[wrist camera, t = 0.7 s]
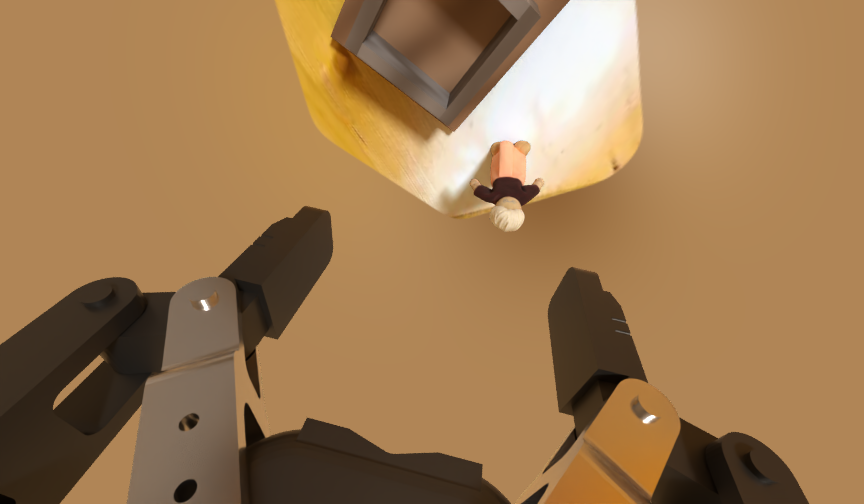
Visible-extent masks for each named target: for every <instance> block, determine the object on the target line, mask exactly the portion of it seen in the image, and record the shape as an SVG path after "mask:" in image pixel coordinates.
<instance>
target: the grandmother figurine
mask: <svg viewBox="0 0 864 504" xmlns="http://www.w3.org/2000/svg"><path fill="white" fill-rule="evenodd" d="M529 151H530V144H529V143H528V142H526V141H518V142H516V143H515V144H514V145H513V143H512V142H509V141H502V142H496V143H494V144H493V145H492V147H491V153H492V163H491V184H492V187H493V188H492V190H491V189H489V188H487V187H485V186H483V185H481V184H480V183H479V181H478V180H477V179H472V180H471V181H470V186H471V187H472V188H473V190H474V195H475V196H476V197H478V198H480V199H482V200H484V201H486V202H489V203H493V204H495V207H493V208H492V209H491V212H490V220H491V221H492V223H493V224H494V225H495V226H496V227H497V228H499V229H502V230H503V231H505V232H506V231H515V230H517V229H519V228H520V226H521V225H522V223H523V221H524V213H523V211H522V210H521V206H522V205H524V204H526V203H527V202H529V201H530V200H531V199H532V198H534V197H535V196H536V195H537V194H538V193H539V192H540V189H541V187H542V186H543V185H544V181H543V179H541V178H538V179H536V180H535V181H534V183H533V184H532V185H524V183H525V177H526V155H527V154H528V152H529ZM523 185H524V186H523Z"/></svg>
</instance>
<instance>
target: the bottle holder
mask: <svg viewBox="0 0 864 504" xmlns="http://www.w3.org/2000/svg"><path fill="white" fill-rule="evenodd" d="M569 1H570V0H345V2H344V4H343V7H342V9H341V12H340V14H339V17H338V19H337V22H336V24H335V27H334V29H333V32H332V34H331V37H332V38H333V39H334V40H336V41H337V42H338V43H340V44H341V45H342V46H343V47H345V48H346V49H347V50H349V51H350V52H351V53H353V54H354V55H355V56H356V57H358V58H359V59H360V60H362V61H363V62H364V63H365V64H367V65H368V66H369V67H371V68H372V69H373V70H375V71H376V72H377V73H378V74H380V75H381V76H382V77H384V78H385V79H386V80H387V81H389V82H390V83H391V84H393V85H394V86H395V87H397V88H398V89H399V90H400V91H402V92H403V93H404V94H406V95H407V96H408V97H410V98H411V99H412V100H413V101H415V102H416V103H417V104H419V105H420V106H421V107H422V108H424V109H425V110H426V111H428V112H429V113H430V114H432V115H433V116H434V117H435V118H437V119H438V120H439V121H441V122H442V123H443V124H444V125H446V126H447V127H448V128H450V129H451V130H452V131H455V130H456V129H457V128H458V127H459V126H460V125H461V124H462V122H463V121H464V120H465V119H466V118H467V117H468V116H469V114H470V113H471V112H472V111H473V110H474V109H475V108H476V106H477V105H478V104H479V103H480V102H481V101H482V100H483V98H484V97H485V96H486V95H487V94H488V93H489V92H490V91H491V89H492V88H493V87H494V86H495V85H496V84H497V83H498V81H499V80H500V79H501V78H502V77H503V76H504V75H505V73H506V72H507V71H508V70H509V69H510V68H511V67H512V65H513V64H514V63H515V62H516V61H517V60H518V59H519V58H520V56H521V55H522V54H523V53H524V52H525V51H526V50H527V48H528V47H529V46H530V45H531V44H532V43H533V42H534V40H535V39H536V38H537V37H538V36H539V35H540V34H541V33H542V31H543V30H544V29H545V28H546V27H547V26H548V25H549V23H550V22H551V21H552V20H553V19H554V18H555V17H556V15H557V14H558V13H559V12H560V11H561V10H562V9H563V7H564V6H565V5H566V4H567V3H568V2H569Z"/></svg>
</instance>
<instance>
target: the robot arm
mask: <svg viewBox="0 0 864 504" xmlns="http://www.w3.org/2000/svg"><path fill="white" fill-rule="evenodd" d="M332 252H333V240H332V228H331V216H330V213H329V212H328V211H326V210H321V209H317V208H313V207H308V206H304V207H303V208H302V209H301V210H300V211H299V212H298V213H297V214H296V215H295V216H294V217H293V218H288V217H286V218H284V219H282V220H280V221H278V222H276V223H274V224H272V225H271V226H270V227H269V228H268V229H267V230H266V231H265V232H264V233H263V234H262V236H261V237H259V238H258V239H257V240H255V242H254V243H253V245H250V247H248V248H247V249H246V250H245V251H244V252H243V253H242V254H241V255H240V256H239V257H238V258H237V259H236V260H235V261H234V262H233V263H232V264H231V265H230V266H229V267H228V268H227V269H226V270H225V271H224V272H223V273H221V274H220V275H219V276H218V277H207V278H202V279H198V280H195V281H192V282H190V283H188V284H186V285H185V286H183V287H182V288H180V289H179V290H178V291H177V292H160V293H158V292H157V293H142V292H141V291H140V289H139V288H138V286H137V285H136V283H135V282H134V281H132V280H130V279H127V278H121V277H116V278H115V277H113V278H106V279H101V280H97V281H94V282H91V283H88V284H86V285H84V286H82V287H80V288H78V289H76V290H75V291H73V292H72V293H70V294H69V295H68V296H66V297H65V298H64V299H62V300H61V301H59V302H58V303H57V304H55V305H54V306H53V307H51V308H50V309H49V310H48V311H46V312H44V313H43V314H42V315H40V316H39V317H38V318H36V319H35V320H34V321H32V322H31V323H30V324H28V325H27V326H25V327H24V328H23V329H21V330H20V331H19V332H17V333H16V334H14V335H13V336H12V337H11V338H9V339H8V340H6V341H5V342H4V343H2V344H1V345H0V504H60V502H61V501H62V500H63V499H64V498H65V496H66V495H67V494H68V493H69V492H70V490H71V489H72V488H73V487H74V485H75V484H76V483H77V482H78V481H79V479H80V478H81V477H82V476H83V475H84V473H85V472H86V471H87V470H88V469H89V467H90V466H91V465H92V463H94V461H95V460H96V459H97V458H98V457H99V455H100V454H101V453H102V451H103V450H104V449H105V448H106V447H107V446H108V444H109V443H110V442H111V441H112V439H113V438H114V437H115V436H116V435H117V434H118V432H119V431H120V430H121V429H122V427H123V426H124V425H125V424H126V423H127V421H128V420H129V419H130V418H131V417H132V415H133V414H134V413H135V412H136V411H137V409H138V408H139V407H140V406H141V404H142V407H141V414H140V420H139V427H138V433H137V440H136V446H135V454H134V460H133V466H132V473H131V479H130V486H129V492H128V500H127V504H511V503H510V502H509V501H508V500H507V498H506V497H505V496H504V495H503V494H502V493H501V492H500V491H499V490H498V489H497V488H495V487H494V486H493V485H492V484H490V483H489V482H488V481H486V480H485V479H483V478H482V464H479V463H475V462H472V461H468V460H464V459H460V458H456V457H453V456H449V455H445V454H442V453H413V454H390V453H387V452H385V451H384V450H382V449H380V448H379V447H377V446H376V445H374V444H373V443H371V442H369V441H368V440H366V439H365V438H363V437H361V436H360V435H358V434H357V433H355V432H353V431H352V430H350V429H348V428H344V427H340V426H337V425H333V424H329V423H325V422H322V421H318V420H314V419H310V418H307V419H306V421H305V423H304V425H303V428H302V429H301V430H292V431H286V432H282V433H278V434H275V435H272V436H271V431H270V426H269V421H268V417H267V413H266V409H265V403H264V396H263V386H262V377H261V368H260V359H259V350H258V346H257V345H258V344H259V342H260V341H261V339H262V338H263V337H264V336H266V337H270V338H274V339H278V338H279V337H280V335H281V334H282V332H283V331H284V329H285V328H286V326H287V325H288V323H289V322H290V320H291V319H292V317H293V316H294V314H295V313H296V311H297V310H298V308H299V307H300V305H301V304H302V302H303V301H304V300H305V298H306V297H307V295H308V294H309V292H310V291H311V289H312V288H313V286H314V284H315V283H316V282H317V280H318V279H319V277H320V276H321V274H322V273H323V271H324V270H325V268H326V267H327V265H328V264H329V262H330V259H331V257H332ZM548 321H549V330H550V339H551V347H552V356H553V364H554V373H555V382H556V390H557V399H558V407H559V412H561V413H565V414H569V415H573V416H574V422H575V426H574V427H573V428H572V429H571V430H570V432H569V433H568V434H567V436H566V437H565V439H564V440H563V441H562V443H561V444H560V445H559V447H558V448H557V450H556V451H555V452H554V454H553V455H552V457H551V458H550V459H549V461H548V462H547V463H546V465H545V466H544V468H543V469H542V470H541V472H540V473H539V475H538V476H537V477H536V478H535V480H534V481H533V482H532V483H531V485H530V486H529V487H528V488H527V489H526V490H525V491H524V492H523V494H522V495H521V496H520V497H519V499H518V500H517V501H516V502H515V504H809V503H808V501H807V499H806V497H805V495H804V493H803V492H802V490H801V488H800V486H799V484H798V482H797V480H796V479H795V477H794V476H793V474H792V472H791V471H790V469H789V468H788V467H787V465H786V464H785V463H784V462H783V461H782V460H781V459H780V458H779V457H778V456H777V455H776V454H775V453H774V452H773V451H772V450H771V449H770V448H768V447H767V446H766V445H764V444H763V443H762V442H760V441H758V440H757V439H755V438H753V437H751V436H749V435H746V434H743V433H739V432H731V433H728V434H726V435H724V436H722V437H721V438H719V439H718V438H716V437H714V436H712V435H710V434H709V433H707V432H705V431H703V430H701V429H699V428H698V427H696V426H694V425H692V424H690V423H688V422H686V421H685V420H683V419H681V418H679V416H678V413H677V411H676V410H675V408H674V406H673V405H672V403H671V402H670V401H669V399H668V398H667V397H666V396H665V395H664V394H663V393H662V392H661V391H659V390H658V389H657V388H655V387H654V386H652V385H651V384H649V383H648V381H647V379H646V376H645V373H644V370H643V367H642V364H641V361H640V359H639V356H638V353H637V350H636V347H635V345H634V342H633V339H632V336H630V330H629V327H628V325H627V324H626V319H625V316H624V313H623V311H622V308H621V306H620V305H619V303H618V302H617V301H616V299H615V298H614V297H613V296H612V294H611V293H610V292H607V291H603V289H602V286H601V283H600V280H599V276H598V274H597V273H595V272H591V271H587V270H582V269H578V268H573V267H571V268H569V269H568V271H567V272H566V274H565V276H564V277H563V279H562V281H561V283H560V285H559V286H558V288H557V290H556V291H555V293H554V295H553V297H552V299H551V301H550V304H549V308H548ZM98 355H100V356H101V357H102V358H103V359H104V361H103V362H102V363H101V364H100V365H99V366H98V367H97V368H96V369H95V370H94V371H93V372H92V373H91V374H90V375H89V376H88V377H87V378H86V379H85V380H84V381H83V382H82V383H81V384H80V385H79V386H78V387H77V388H76V389H75V390H74V391H73V392H72V393H70V394H69V395H68V396H67V397H66V398H65V399H64V400H63V401H62V402H61V403H60V404H59V405H58V406H57V407H56V408H55V409H54V410H53V404H54V401H55V399H56V397H57V396H58V394H59V393H60V392H61V391H62V390H63V389H64V388H65V387H66V386H67V385H68V384H69V383H70V382H71V381H72V380H73V379H74V378H75V377H76V376H77V375H78V374H79V373H80V372H81V371H83V370H84V369H85V368H86V367H87V366H88V365H89V364H90V363H91V362H92V361H93V360H94V359H95V358H96V357H97V356H98Z"/></svg>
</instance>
